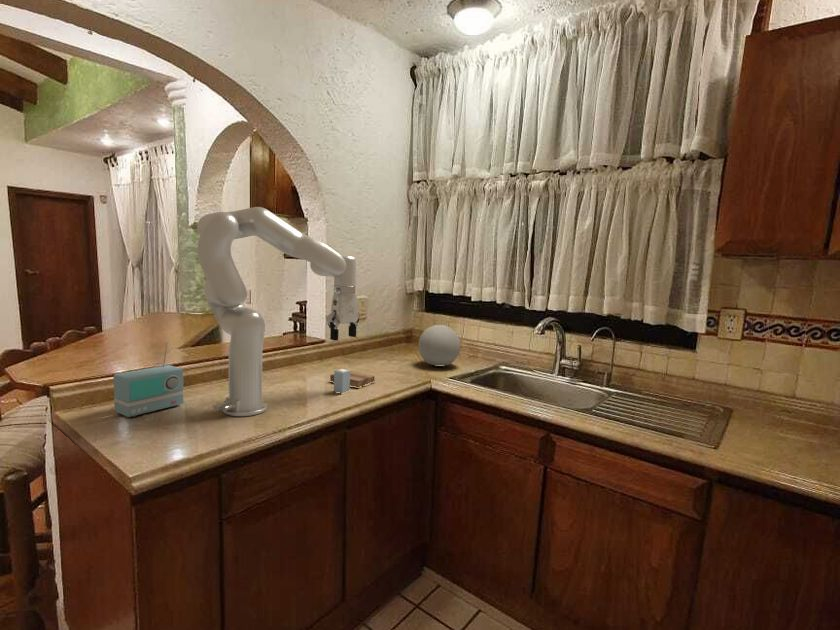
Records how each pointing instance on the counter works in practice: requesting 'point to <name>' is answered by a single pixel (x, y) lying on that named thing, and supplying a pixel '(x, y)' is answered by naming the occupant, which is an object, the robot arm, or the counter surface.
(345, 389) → the block
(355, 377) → the brown box
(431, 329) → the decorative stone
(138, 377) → the radio
